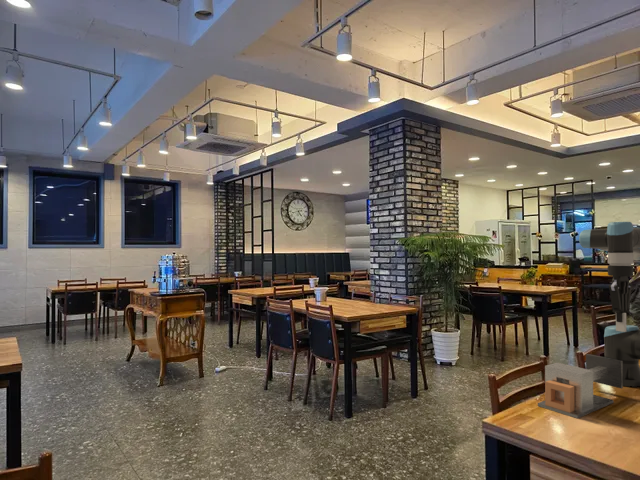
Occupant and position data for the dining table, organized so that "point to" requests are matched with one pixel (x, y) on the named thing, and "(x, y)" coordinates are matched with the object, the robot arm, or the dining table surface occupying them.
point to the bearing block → (575, 389)
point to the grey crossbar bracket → (604, 370)
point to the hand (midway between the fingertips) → (621, 330)
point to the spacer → (568, 396)
